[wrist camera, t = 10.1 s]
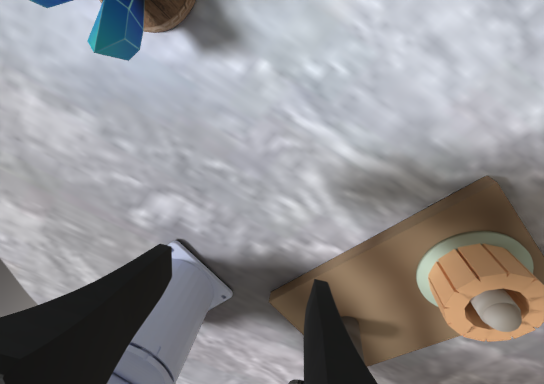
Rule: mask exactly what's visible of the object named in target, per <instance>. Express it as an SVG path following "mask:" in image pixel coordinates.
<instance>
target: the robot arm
mask: <svg viewBox="0 0 544 384" xmlns="http://www.w3.org/2000/svg"><path fill="white" fill-rule="evenodd" d="M172 248H173V249H172ZM224 295H225V296H224ZM232 295H233V292H232V290H231V289H229V288H228V287H227V286H226V285H225V284H224V283H223V282H222V281H221V280H220V279H219V278H218V277H216V276H215V275H214V274H213V273H212V272H211V271H210V270H209V269H208V268H207V267H206V266H205V265H203V264H202V263H201V262H200V261H199V260H198V259H197V258H196V257H195V256H194V255H193V254H192V253H190V252H189V251H188V250H187V249H186V248H185V247H184V246H183V245H182V244H181V243H180V242H178V241H172V242H171V243H170V244H168V245H163V244H159V245H157V246H155V247H154V248H152V249H151V250H149V251H147V252H146V253H144V254H142V255H141V256H139V257H137V258H136V259H134V260H133V261H131V262H129V263H127V264H126V265H124V266H122V267H121V268H119V269H117V270H115V271H113V272H112V273H110V274H108V275H106V276H104V277H102V278H100V279H99V280H97V281H95V282H93V283H90V284H88V285H86V286H84V287H82V288H80V289H78V290H75V291H73V292H71V293H68V294H66V295H63V296H61V297H58V298H56V299H53V300H51V301H48V302H46V303H43V304H40V305H37V306H35V307H32V308H29V309H26V310H23V311H20V312H17V313H13V314H10V315H7V316H4V317H0V384H175V383H176V381H177V379H178V377H179V374H180V372H181V370H182V368H183V365H184V363H185V361H186V359H187V356H188V354H189V352H190V350H191V347H192V345H193V343H194V341H195V338H196V336H197V334H198V332H199V329H200V327H201V325H202V323H203V321H204V318H205V316H206V314H207V312H208V311H209V310H210V309H212V308H214V307H216V306H217V305H219V304H221V303H222V302H224V301H226V300H228V299H229V298H231V297H232ZM304 384H377V382H376V381H375V379H374V378H373V376H372V375H371V373H370V371H369V370H368V368H367V367H366V365H365V363H364V362H363V360H362V358H361V356H360V355H359V353H358V351H357V349H356V347H355V345H354V344H353V342H352V340H351V338H350V336H349V334H348V332H347V329H346V327H345V325H344V323H343V321H342V318H341V316H340V314H339V311H338V309H337V306H336V304H335V301H334V298H333V296H332V293H331V290H330V286H329V284H328V282H326V281H322V280H317V279H314V282H313V286H312V289H311V292H310V296H309V299H308V302H307V306H306V311H305V321H304Z"/></svg>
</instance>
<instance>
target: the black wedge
mask: <svg viewBox="0 0 544 384" xmlns="http://www.w3.org/2000/svg"><path fill="white" fill-rule="evenodd" d="M289 384H304V381H301V380H292V381H290V382H289Z"/></svg>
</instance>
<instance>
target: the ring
mask: <svg viewBox="0 0 544 384" xmlns="http://www.w3.org/2000/svg"><path fill="white" fill-rule="evenodd" d="M438 261H439V262H437V261H436V262H435V264H434V265H433V267H432V269H431V271H430V273H429V274H428V276H429V277H428V281H429V286H430V290H431V292H432V295H433V297H434V299H435V301H436V303H437V305H438V307H439V309H440V311H441V313H442V315H443V317H444V319H445V321H446V323H447V324H448V326H450V327H451V328H452V329H453V330H455V331H456V332H457V333H458V334H460V335H461V336H462V335H463V336H464V337H467V338H471V339H475V340H479V341H485V340H487V342H491V341H502V340H511V336H512V337H513V338H514V339H515V338H518V337H520V336H522V335H524V334H527V333H529V332H531V331H534V330H536V329H535V328H534V327H537V328H539V327H540V326H541V324H542V323H543V322H544V285H543V284H542V283H541V282H540V281H539V280H538V279H537V278H536V277H535V276H534V275H533V274H532V273H531V272H530V271H529V270H528V269H527V268H526V267H525V266H524V265H523V264H522V263H521V262H520V261H519V260H518V259H517V258H516V257H515V256H513V255H512V254H511V253H510V252H509V251H508V250H507V249H505V248H503V247H498V246H493V245H488V244H484V243H483V244H482V245H481V244H480V243H479V244H474V245H468V246H463V247H458V251H457V250H456V249H453V250H452V251H450V252H449V253H447V254H445V255H444V256H442V257H441V258H439V259H438ZM502 288H503V289H504V290H505V291H506V292H507V293H508V295H509V296H510V297H511V298H512V299H513V301H514V302H515V303H516V304H517V305H518V307H519V308H520V310H521V316H522V322H521V325H520V326H519V328H518V329H516V330H514V331H511V332H502V331H498V330H496V329H494V328H492V327H490V326H489V325H488V324H486V323H484V322H483V321H482V319H481V318H480V316H479V315H478V313H477V312H476V310H475V308H474V307H473V305H472V304H471V302H470V300H471V298H473V297H475V296H477V295H479V294H481V293H483V292H484V291H488V290H495V289H502Z"/></svg>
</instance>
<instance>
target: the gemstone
mask: <svg viewBox="0 0 544 384" xmlns="http://www.w3.org/2000/svg"><path fill="white" fill-rule="evenodd" d="M30 1H32V2H34V3H37V4H39V5H41V6H43V7H46V8H49V7H53V6H56V5H59V4H63V3H66V2H69V1H73V0H30ZM195 1H196V0H100V2H101V3H102V5H101V8H100V11H99V13H98V16H97V18H96V21H95V23H94V26H93V28H92V31H91V33H90V36H89V38H88V43H89V45H90V46H91V48H92V50H93V52H94V53H98V54H102V55H107V56H111V57H115V58H119V59H124V60H128V61H129V60H130V59H131V58H132V57H133V56H134V55H135V54H136V53H137V52H138V51H139V50H140V46H141V41H142V36H143V31H144V32H151V33H156V32H163V31H167V30H169V29H172V28H174V27H175V26H177V25H178V24H179V23H181V22H182V21H183V20H184V19H185V17H186V16H187V15H188V14H189V12H190V11H191V9H192V7H193V5H194V3H195Z"/></svg>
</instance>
